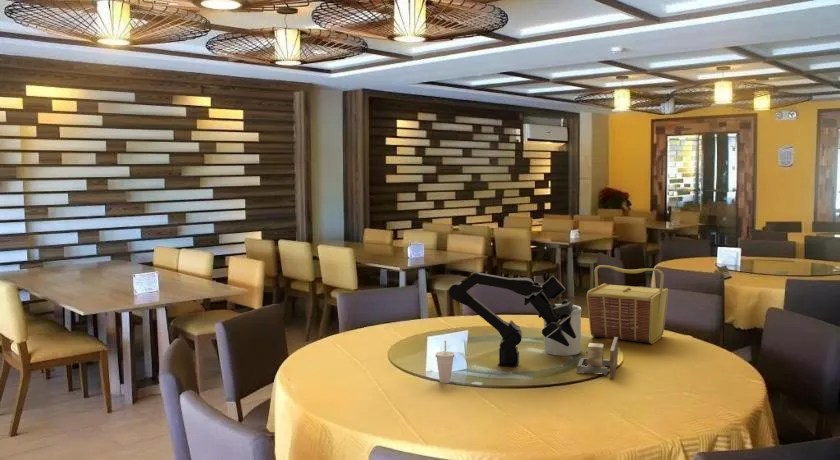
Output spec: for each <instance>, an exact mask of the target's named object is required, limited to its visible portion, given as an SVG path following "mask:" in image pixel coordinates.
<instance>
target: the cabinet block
mask: <svg viewBox="0 0 840 460" xmlns="http://www.w3.org/2000/svg"><path fill="white" fill-rule="evenodd" d="M587 345H588V346H587V349H586V352H585V353H586V354H587V358H588V366H596V367H603V359H604V347H605V346H604V343H596V342H594V343H593V342H588V344H587Z"/></svg>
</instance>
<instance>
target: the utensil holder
mask: <svg viewBox="0 0 840 460" xmlns="http://www.w3.org/2000/svg"><path fill="white" fill-rule="evenodd" d="M554 304H555V305H556V306H559V305H562V303H554ZM572 308H573V311H572V313H571V315H570V316H571V321H570V323H571V326H572V328H573V330H574V333H575V335H576V338H575V339H574V338H572V337H570V336H569V335H568V334H566V333H565V332H563V331H562V333H563V335H564V336H565V338H566V339H567V341H568V343H569V344H570V345H569V346H568V347H567V346H565V345H563V344H561V343H559V342H557V341H555V340H553V339H550V338H547V337H548V336H549V335H550V334H549V335H548V336H547V337H544V336H543V341H544V343H543V344H544V352H545V353H546V354H549V355H553V356H562V357H563V356H564V357H565V356H566V357H567V356H575V355H578V354H580V353H581V344H582V343H581V340H582V331H581V330H582V327H581V325H582V316H581V315H582V307H581V306H580V305H575V304H573V306H572ZM570 316H569V317H570ZM569 317H568V318H569ZM546 324H547V323H546V322H545V321H544V320H543V329H544V328H545V327H546Z"/></svg>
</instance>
